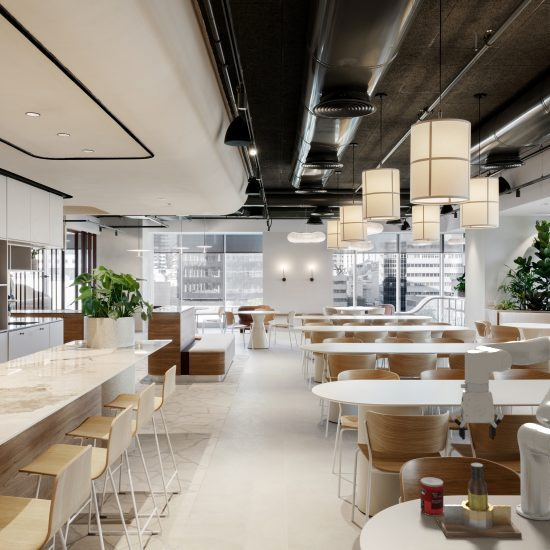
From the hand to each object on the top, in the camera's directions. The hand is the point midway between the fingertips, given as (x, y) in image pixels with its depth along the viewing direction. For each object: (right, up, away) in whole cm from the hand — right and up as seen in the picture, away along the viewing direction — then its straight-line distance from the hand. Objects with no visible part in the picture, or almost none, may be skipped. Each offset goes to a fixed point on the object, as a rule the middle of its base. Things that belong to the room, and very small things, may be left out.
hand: (477, 438), depth 194 cm
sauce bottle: (0, -29, 0) cm, 29 cm away
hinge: (0, -29, 0) cm, 29 cm away
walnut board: (0, -30, 0) cm, 30 cm away
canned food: (-11, -30, +14) cm, 35 cm away
